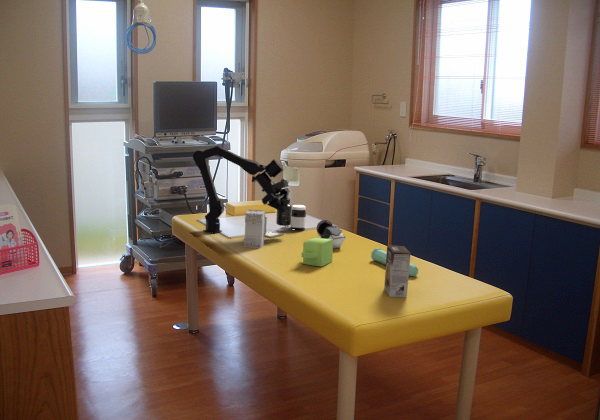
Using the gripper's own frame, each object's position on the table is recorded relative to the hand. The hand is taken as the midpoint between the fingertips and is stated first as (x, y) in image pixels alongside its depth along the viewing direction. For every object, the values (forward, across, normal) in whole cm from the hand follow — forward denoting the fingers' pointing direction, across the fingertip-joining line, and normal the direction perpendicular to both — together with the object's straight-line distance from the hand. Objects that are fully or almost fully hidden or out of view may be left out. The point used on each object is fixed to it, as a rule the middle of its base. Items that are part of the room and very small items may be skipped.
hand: (287, 210), depth 287 cm
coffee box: (+56, -48, -38) cm, 83 cm away
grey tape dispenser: (+24, +4, -5) cm, 25 cm away
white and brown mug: (+6, +21, +13) cm, 26 cm away
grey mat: (+3, +2, +16) cm, 16 cm away
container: (+50, -19, -31) cm, 62 cm away
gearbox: (+29, -28, -10) cm, 41 cm away
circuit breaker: (+4, -16, +15) cm, 22 cm away
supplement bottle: (+4, 0, +6) cm, 7 cm away
